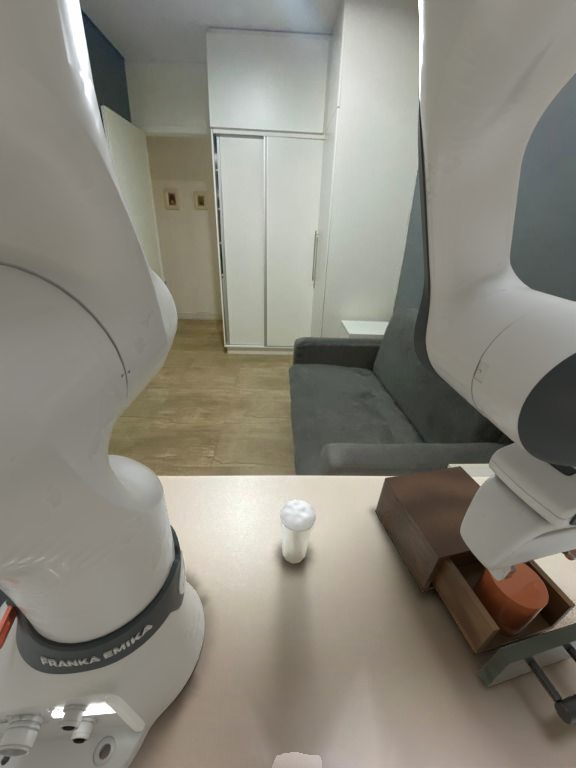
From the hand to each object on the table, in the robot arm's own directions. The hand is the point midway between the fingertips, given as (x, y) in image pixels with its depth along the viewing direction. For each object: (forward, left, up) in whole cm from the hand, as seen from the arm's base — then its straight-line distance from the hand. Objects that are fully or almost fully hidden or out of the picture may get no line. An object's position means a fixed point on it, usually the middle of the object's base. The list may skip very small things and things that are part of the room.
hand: (533, 562), depth 32 cm
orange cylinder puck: (0, 0, -9) cm, 9 cm away
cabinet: (0, +11, -11) cm, 15 cm away
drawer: (0, -2, -10) cm, 11 cm away
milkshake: (-22, +13, -12) cm, 28 cm away
